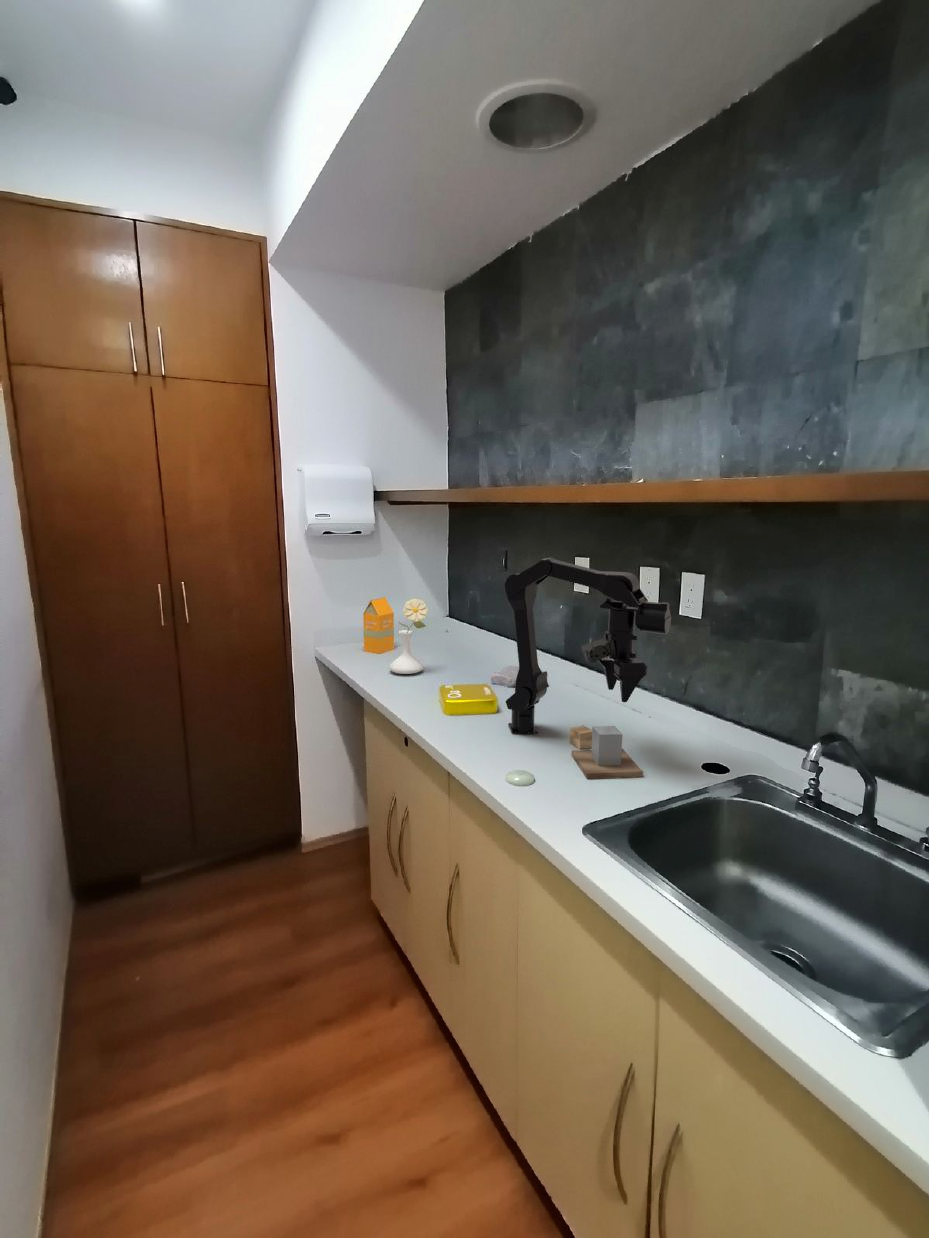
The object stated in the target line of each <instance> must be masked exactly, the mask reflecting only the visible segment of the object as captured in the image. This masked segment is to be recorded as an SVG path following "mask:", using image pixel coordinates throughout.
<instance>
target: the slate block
mask: <svg viewBox="0 0 929 1238" xmlns="http://www.w3.org/2000/svg"><path fill="white" fill-rule="evenodd" d="M591 730H592V747H591V749H590V750H591V757H592V758H593V760H594V761H595V762H596V764H597V765H598V766H606V765H621V752H622V749H623V733H622V731H620V730H619V729H618V728H617V726H616V725H599V726H598V725H597V726H595V725H593V726H592V728H591Z"/></svg>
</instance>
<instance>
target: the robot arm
mask: <svg viewBox="0 0 929 1238" xmlns="http://www.w3.org/2000/svg"><path fill="white" fill-rule="evenodd" d="M549 577H550V578H554V579H558V580H562V581H566V582H569V583H573V584H578V585H580V586H583V587H584V586H585V587H588V588H592V589H593V590H595V591H597V592H599V593H600V594H602V595H604V596H606V597H607V598H606V599H605V601H603V603H601V604H599V608H600V609H604V610H605V609H606V610H608V624H607V626H608V627H607V631H604V633H603V638H600V639H596V640H594V641H591V642H588V643H585V644H583V645H582V646H581V647H580V648H581V651H582V654H583V656H584V660H585V661H587V663H589V664H594V663H596V662H597V661H598V662H599V664H601V665H602V666H603V667H602V668H603V671H604V675H605V676H604V677H605V679H606V684H607V689H608V691H610V690H611V691H613V690H614V688H615V687H616V684H617V680H619V687H620V697H621V698H620V699H621V703H627V702H628V701H629V699H630V697H631V695H632V694H633V692H634V690H635V689H636V688H637V686H638V684H639V683H640V682H641V680H642V679H644V678H645V676H647V675H648V666H647V665H646V664H645V663H644V661H642V660H640V659H639V658H637V656H636V655H637V653H636V652H635V651H634V641H637V640H638V639H637V638H638V636H637V634H635V627H636V629H638V630H639V631H640V632H643V633H651V634H660V635H668V634H669V631H670V629H671V622H672V615H671V610H670V603H669V602H663V601H662V602H653V601H649V600H648V598H647V596H646V595H645V594H644V592H643V591H642V589H641V588H640V581H639V579H638V577H637V576H636V575H635V574H634V573H632V572H625V571H603V570H602V571H601V570H597V569H593V568H588V567H585V566H581V565H579V564H574V563H570V562H566V561H562V560H558V559H555V558H554V557H546V558H542V559H540V560H539V561H538V562H536V563H535V564H534V565H532V566H530V567H528V568H527V569H525V570H523V571H521V572H519V573H515V574H514V573H513V574H510V575H509V576H507V578H506V579H505V580H504V585H503V586H504V592H505V596H506V599H507V602H508V604H509V605H510V608H511V609H512V611H513V618H514V628H515V629H514V630H515V638H516V640H515V641H516V648H517V649H516V651H517V657H518V658H517V659H518V667H519V671H518V674H517V678H516V683H515V686H514V693H513V694H512V695H511V696H509V697H508V698H507V699H506V700H505V705H506V707H507V710H511V722H508V724H507V726H508V728H509V729H510V732H511V734H513V735H517V734H522V735H524V734H538V728H536V726H535V711H536V710H535V709H536V708H535V705H536V704H539V703H540V700H541V699H542V698H543V697H545V695H546V694H547V693H548V692H547V691H548V688H549V687H550V685H549V683H548V672H547V671H546V670H544V671H542V669H541V668H540V666H539V663H538V661H539V659H538V652H537V651H538V649H537V642H536V641H537V639H536V631H535V630H536V628H535V618H534V605H535V602H536V598H537V590H538V585H540V584H541V583H544V581H545V580H547V579H548V578H549Z"/></svg>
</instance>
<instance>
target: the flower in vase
mask: <svg viewBox="0 0 929 1238" xmlns="http://www.w3.org/2000/svg"><path fill="white" fill-rule="evenodd" d="M428 611H429V608H428V607H427V604H425V601H424V600H421V599H419V598H418V599H417V598H415V597H414V598H413V599H409V600H408V601H405V604H404V607H403V611H402V613H403V614H404V616H405V618H406V620H409V621H411V622H412V623H411V625H410V626H408V625H406V624H405V623H401V621H398V624H399V625H400V626H402V627H406V628H408V629H405V630H403V629H402V630H399V631H398V633H399V635H400V638H401V641H402V653H401V654H400V655H399V656H398V657H396V659H394V660H393V661H392V662H391V663H390V665H389V667H388V668H389V670H390V671H391V672H393V673H395V674H399V675H400V674H401V675H408V674H409V675H411V674H416V673H419V672H422V670H423V669H424V664H423V663H422V662H421V661H420V660H419V659H417V657H415V656H414V655H412V653H411V648H410V646H411V645H410V644H411V638H412V636H413V634H414V633H415V632H414V630H410V629H411V628H412V626H414V627H415V628H416V629H422V628H425V627H426V624H425V623H423V621H422V620H424V619H426V617H427V615H428Z"/></svg>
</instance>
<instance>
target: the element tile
mask: <svg viewBox="0 0 929 1238" xmlns="http://www.w3.org/2000/svg"><path fill="white" fill-rule="evenodd" d="M498 699H499V698H498V696H497V695H496V692H495V691H494V689H493V688H492V686H491V685H489V684H488V683H475V684H474V683H472V684H470V683H469V684H467V683H466V684H443V685H440V686H439V688H438V701H439V704H440V708H441V712H442V713H443V714H444V715H446V716H463V715H488V714H489V715H491V714H496V713H497V712H498Z"/></svg>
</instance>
